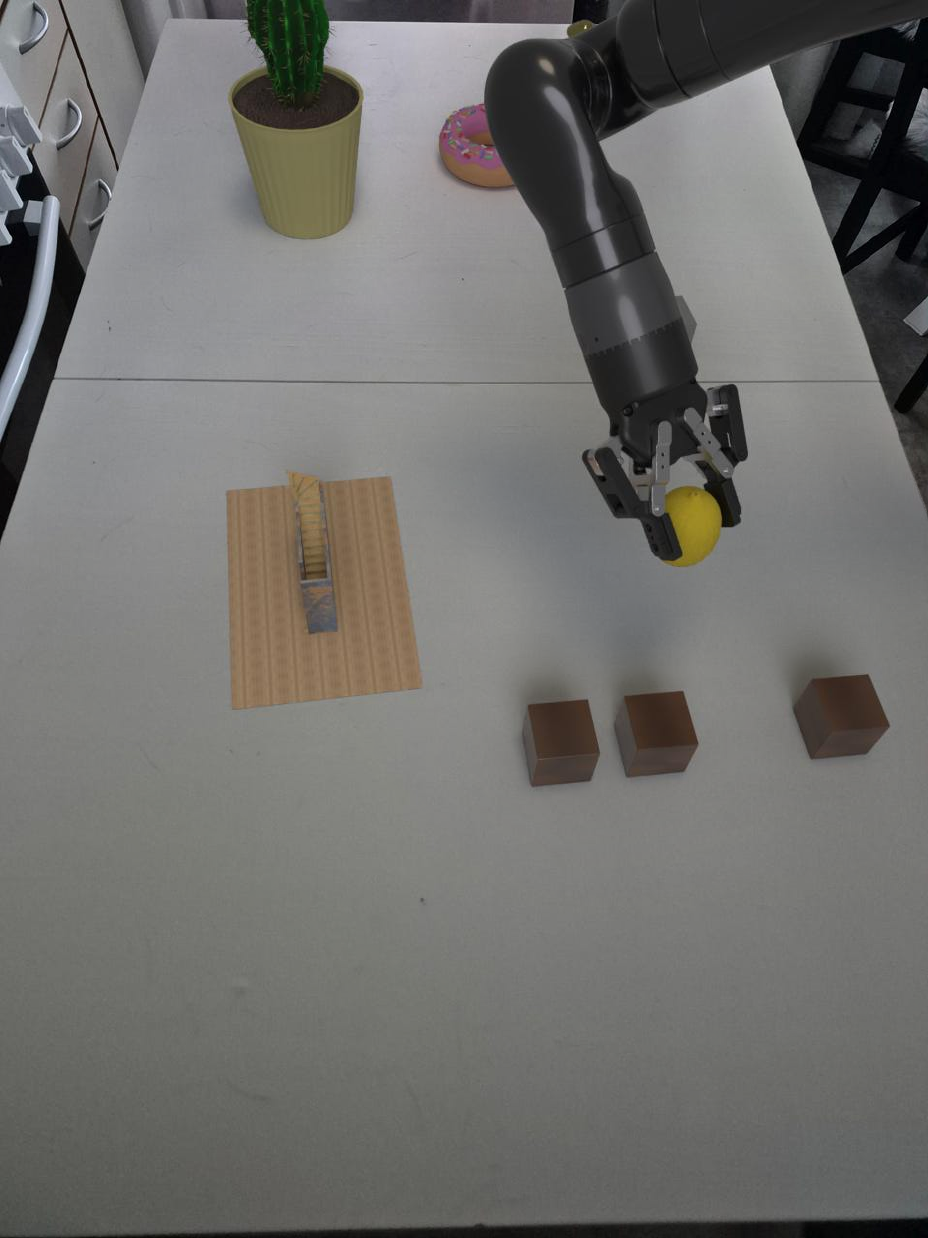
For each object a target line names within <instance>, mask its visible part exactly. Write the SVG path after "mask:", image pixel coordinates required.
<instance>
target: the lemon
mask: <svg viewBox="0 0 928 1238" xmlns="http://www.w3.org/2000/svg"><path fill="white" fill-rule="evenodd" d="M664 513H669V515H670V518H671V521H672V523H673V526H674V529H675V532H676V535H677V538H678V541H679V544H680V547H681V550H682V553H683V555H682V557H680V558H679V559H677V560H675V561H664V560H661V559H660V558H659V556H656V557H657V558H658V559H659V560H660V561H662V562H663V563H665V564H667V565H669V566H672V567H676V568H687V567H691V566H695V565H697V564H699V563H701V562H703V561H704V560H705V559H706V558H707V557H708V556H709V555H710V554H711V553H712V552H713V551H714V549H715V547H716V545H717V543H718V542H719V540H720V537H721V531H722V527H721V525H722V516H721V511H720V507H719V505H718V503H717V501H716V500H715V498H714V497H713V496H712V495H711V494H710V493H708V492H707V491H705V489H704V488H702V487H698V486H694V485H684V486H679V487H676V488H673V489H671V490H670V491H668V492H667V493H665V512H664Z"/></svg>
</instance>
